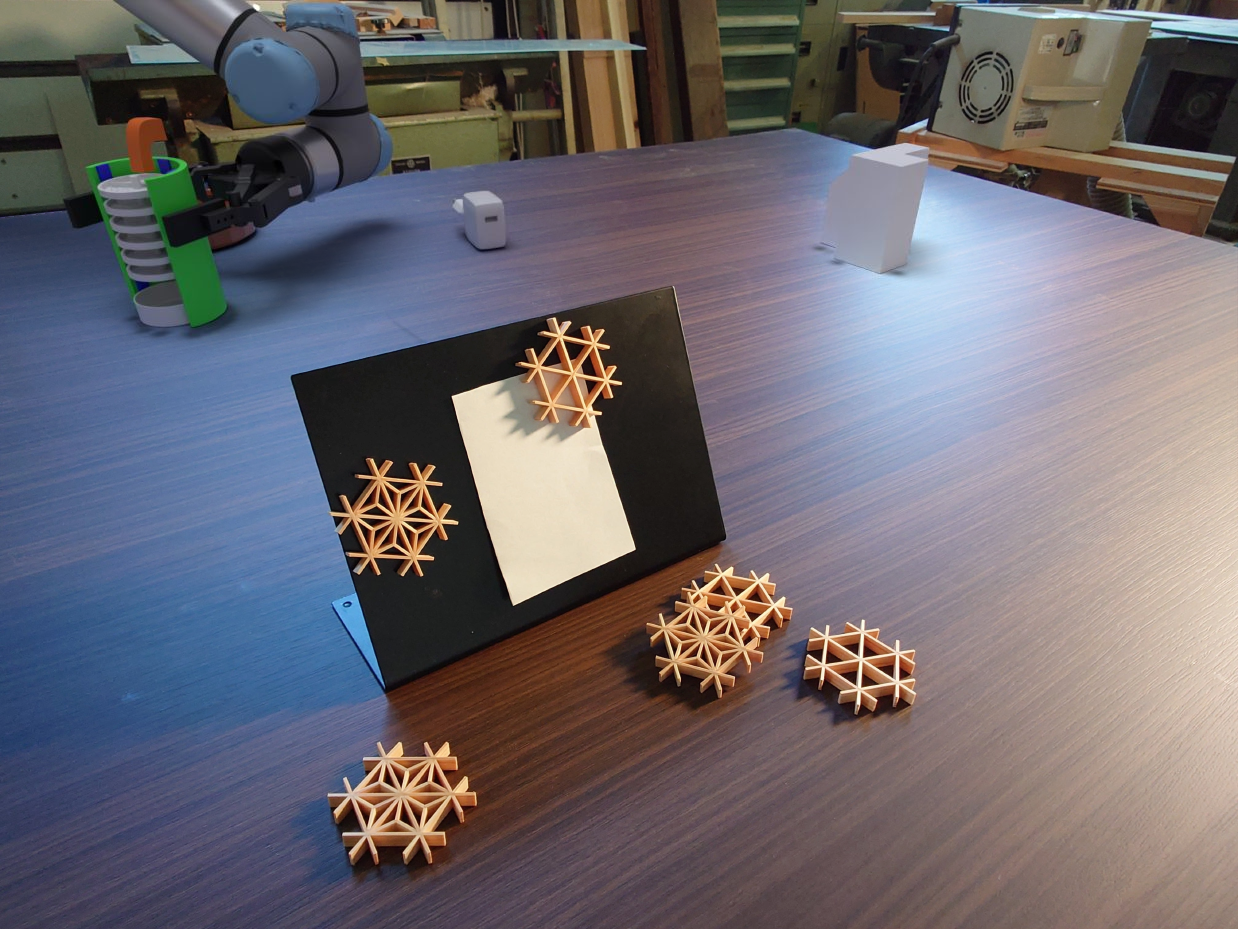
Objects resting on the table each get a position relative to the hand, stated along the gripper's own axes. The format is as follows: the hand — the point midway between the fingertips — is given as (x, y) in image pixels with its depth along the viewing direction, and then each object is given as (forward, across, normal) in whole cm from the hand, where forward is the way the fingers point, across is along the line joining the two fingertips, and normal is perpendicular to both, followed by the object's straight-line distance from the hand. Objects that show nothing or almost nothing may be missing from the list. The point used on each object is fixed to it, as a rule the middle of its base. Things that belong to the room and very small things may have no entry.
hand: (118, 223), depth 74 cm
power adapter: (-37, -15, -10) cm, 41 cm away
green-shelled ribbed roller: (-4, 0, -10) cm, 11 cm away
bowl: (-22, +17, -10) cm, 29 cm away
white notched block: (-53, -61, -10) cm, 81 cm away
